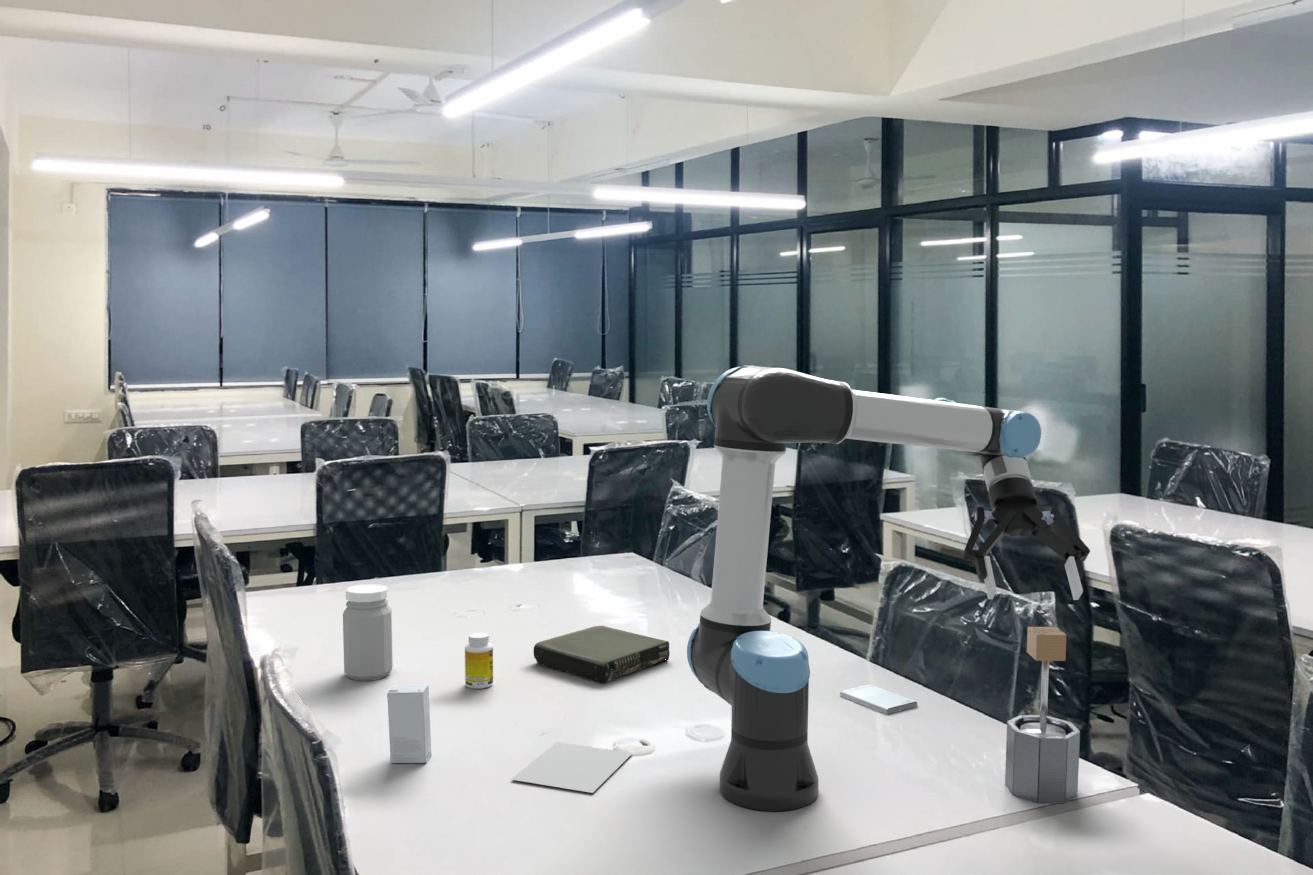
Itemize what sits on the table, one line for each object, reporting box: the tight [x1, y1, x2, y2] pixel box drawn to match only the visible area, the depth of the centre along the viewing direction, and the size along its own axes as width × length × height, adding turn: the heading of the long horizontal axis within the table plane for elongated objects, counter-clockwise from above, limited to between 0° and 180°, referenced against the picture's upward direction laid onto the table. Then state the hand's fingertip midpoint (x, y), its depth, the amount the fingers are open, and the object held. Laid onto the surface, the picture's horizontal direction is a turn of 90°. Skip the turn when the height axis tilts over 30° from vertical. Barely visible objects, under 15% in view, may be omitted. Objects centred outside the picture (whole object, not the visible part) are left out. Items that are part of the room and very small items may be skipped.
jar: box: [342, 583, 394, 682], centre depth 221 cm, size 10×10×18 cm
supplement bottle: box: [464, 632, 494, 690], centre depth 214 cm, size 6×6×10 cm
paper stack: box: [510, 732, 633, 794], centre depth 180 cm, size 23×25×1 cm
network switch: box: [532, 625, 670, 685], centre depth 230 cm, size 23×24×5 cm
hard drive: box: [839, 683, 918, 715], centre depth 206 cm, size 2×8×12 cm
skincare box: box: [386, 684, 432, 764], centre depth 177 cm, size 6×4×12 cm
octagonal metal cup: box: [1004, 714, 1081, 804], centre depth 166 cm, size 10×10×10 cm
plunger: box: [1020, 626, 1067, 737], centre depth 165 cm, size 7×7×16 cm
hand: (1035, 595), depth 172 cm, fingers open, 13 cm apart
